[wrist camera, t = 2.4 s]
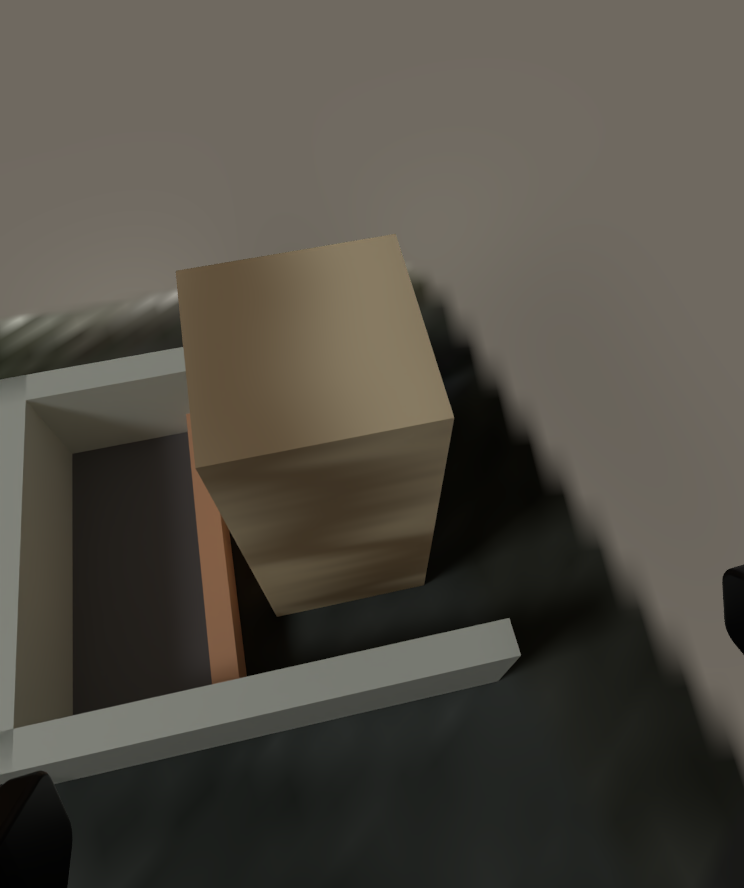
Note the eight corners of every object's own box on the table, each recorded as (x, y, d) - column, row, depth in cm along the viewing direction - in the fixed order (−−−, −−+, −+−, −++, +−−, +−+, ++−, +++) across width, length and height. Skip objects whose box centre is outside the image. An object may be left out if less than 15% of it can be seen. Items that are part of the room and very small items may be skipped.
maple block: (390, 456, 25) (395, 233, 15) (423, 585, 23) (454, 417, 13) (257, 483, 25) (175, 271, 15) (276, 616, 22) (195, 468, 13)
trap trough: (407, 372, 27) (411, 306, 23) (498, 681, 21) (520, 655, 18) (48, 439, 26) (-5, 380, 22) (42, 786, 20) (-31, 781, 16)
